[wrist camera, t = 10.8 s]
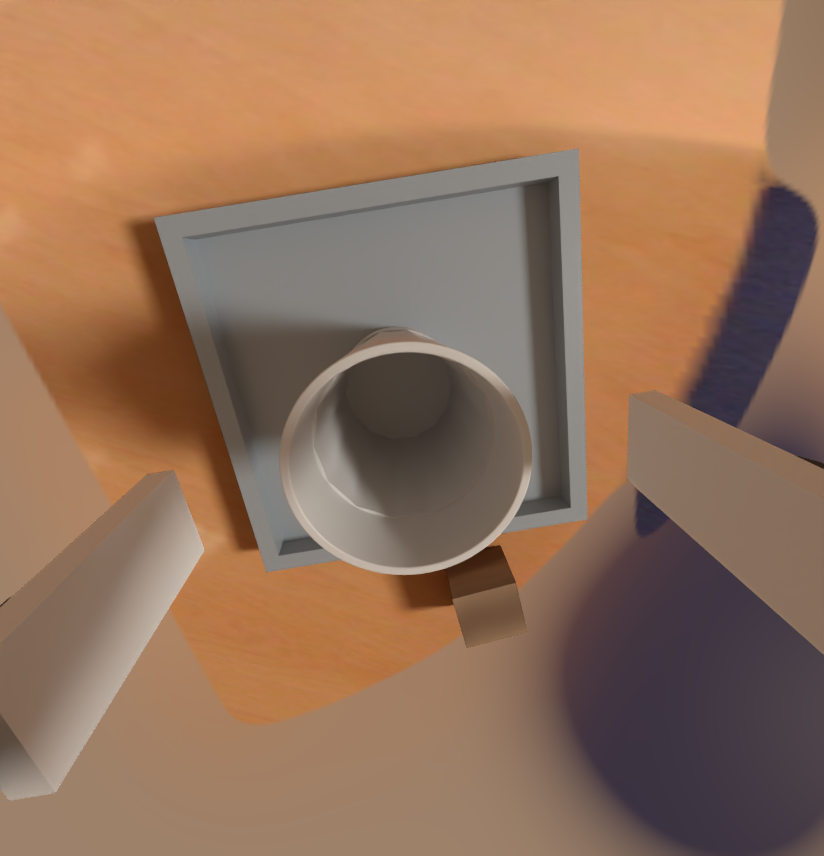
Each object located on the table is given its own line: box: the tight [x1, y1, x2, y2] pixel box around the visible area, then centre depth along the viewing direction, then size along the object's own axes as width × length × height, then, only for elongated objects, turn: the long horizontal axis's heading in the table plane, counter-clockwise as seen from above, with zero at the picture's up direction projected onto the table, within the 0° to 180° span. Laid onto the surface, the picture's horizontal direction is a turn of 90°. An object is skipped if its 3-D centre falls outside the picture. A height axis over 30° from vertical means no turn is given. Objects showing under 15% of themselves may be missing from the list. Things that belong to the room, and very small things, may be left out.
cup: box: [279, 327, 532, 575], centre depth 20 cm, size 8×8×12 cm
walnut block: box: [446, 545, 527, 648], centre depth 30 cm, size 4×4×4 cm
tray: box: [154, 149, 587, 572], centre depth 25 cm, size 20×20×2 cm
